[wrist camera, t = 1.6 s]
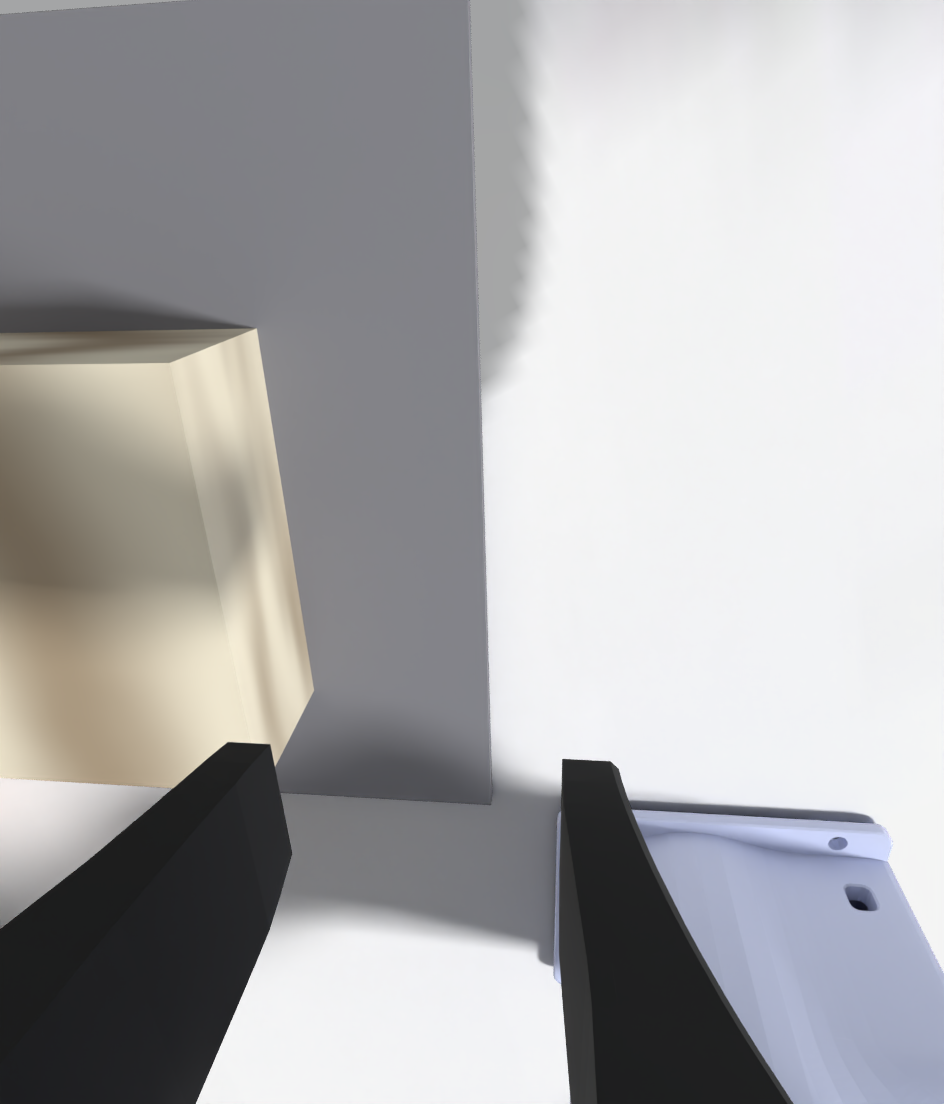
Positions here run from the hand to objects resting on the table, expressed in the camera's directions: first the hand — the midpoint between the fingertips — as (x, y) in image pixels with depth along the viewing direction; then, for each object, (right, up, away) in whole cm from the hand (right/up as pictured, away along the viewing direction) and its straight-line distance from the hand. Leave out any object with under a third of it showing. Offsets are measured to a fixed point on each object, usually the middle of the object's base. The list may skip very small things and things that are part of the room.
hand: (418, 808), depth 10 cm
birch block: (-8, +4, +9) cm, 13 cm away
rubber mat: (-11, +5, +9) cm, 16 cm away
